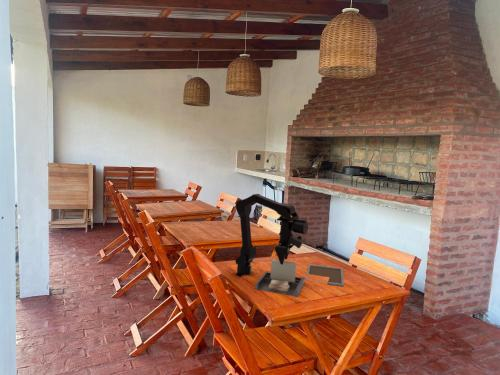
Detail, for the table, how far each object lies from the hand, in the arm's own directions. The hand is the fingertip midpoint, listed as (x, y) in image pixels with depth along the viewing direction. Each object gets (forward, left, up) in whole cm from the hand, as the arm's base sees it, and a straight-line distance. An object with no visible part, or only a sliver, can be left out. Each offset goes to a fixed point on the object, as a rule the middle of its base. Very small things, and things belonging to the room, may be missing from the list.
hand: (283, 261), depth 193 cm
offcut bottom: (0, -7, -11) cm, 13 cm away
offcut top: (0, -7, -9) cm, 12 cm away
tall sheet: (0, 0, -11) cm, 11 cm away
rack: (0, -4, -12) cm, 13 cm away
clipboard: (+18, +26, -13) cm, 34 cm away
